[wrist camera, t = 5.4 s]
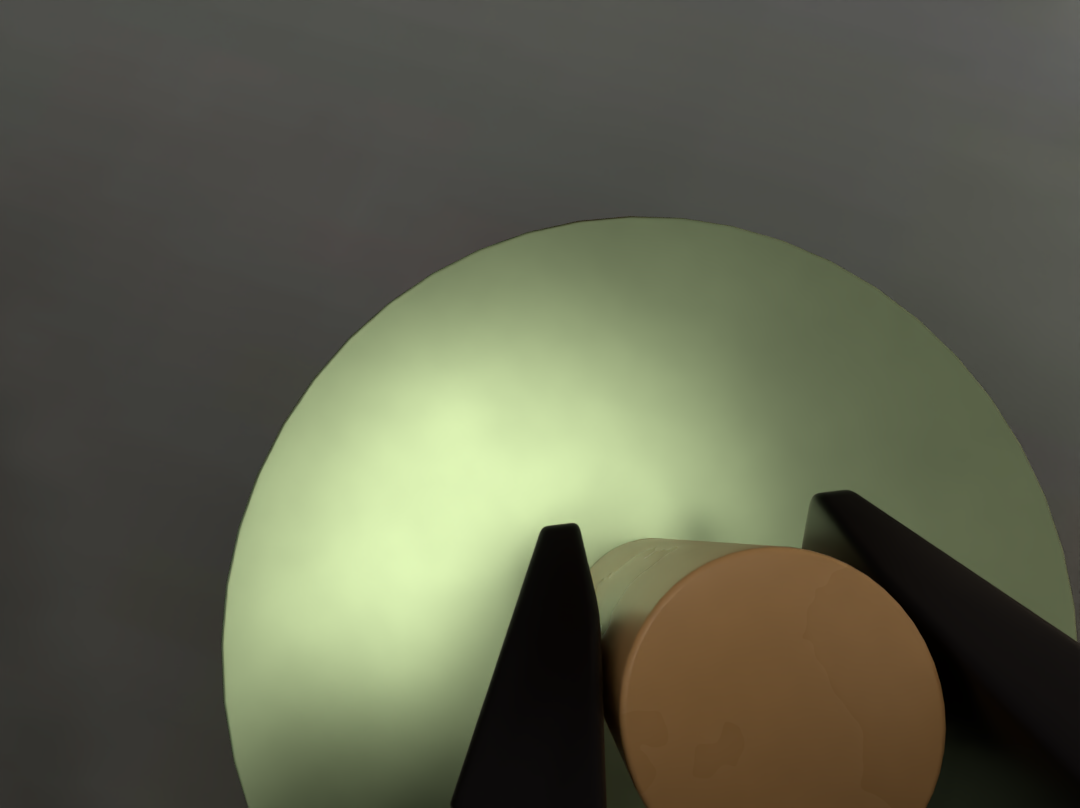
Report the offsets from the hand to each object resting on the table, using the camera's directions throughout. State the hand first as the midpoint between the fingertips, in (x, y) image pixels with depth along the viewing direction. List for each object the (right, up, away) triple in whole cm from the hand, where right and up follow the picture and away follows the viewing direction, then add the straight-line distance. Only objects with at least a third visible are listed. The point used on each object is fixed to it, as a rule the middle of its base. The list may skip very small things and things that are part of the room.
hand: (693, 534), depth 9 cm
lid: (0, -2, +4) cm, 4 cm away
